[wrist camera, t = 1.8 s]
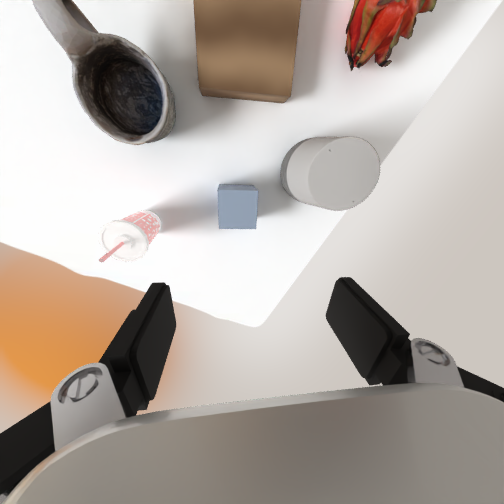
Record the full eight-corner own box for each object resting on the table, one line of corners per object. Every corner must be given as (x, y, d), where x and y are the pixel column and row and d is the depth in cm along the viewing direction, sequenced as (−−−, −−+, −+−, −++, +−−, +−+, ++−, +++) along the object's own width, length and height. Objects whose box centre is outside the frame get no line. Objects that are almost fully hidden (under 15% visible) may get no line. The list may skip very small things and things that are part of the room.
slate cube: (219, 184, 32) (217, 189, 27) (253, 185, 33) (258, 190, 28) (220, 218, 35) (218, 228, 30) (251, 218, 36) (256, 229, 30)
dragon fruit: (399, -17, 25) (332, 81, 30) (396, -114, 18) (311, 33, 24) (467, -15, 21) (376, 98, 26) (493, -138, 14) (365, 45, 20)
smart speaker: (266, 165, 32) (291, 169, 19) (312, 126, 30) (372, 104, 17) (294, 208, 36) (329, 234, 23) (336, 176, 34) (398, 187, 21)
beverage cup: (124, 228, 34) (64, 269, 21) (135, 199, 32) (76, 225, 19) (158, 243, 36) (122, 289, 23) (170, 216, 34) (137, 250, 21)
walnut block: (195, -35, 22) (188, -72, 18) (294, -17, 23) (306, -49, 20) (202, 96, 27) (198, 87, 23) (282, 104, 28) (290, 96, 25)
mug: (152, 161, 29) (120, 162, 21) (70, 79, 24) (-20, 34, 15) (195, 115, 27) (179, 94, 19) (116, 15, 22) (41, -81, 13)
